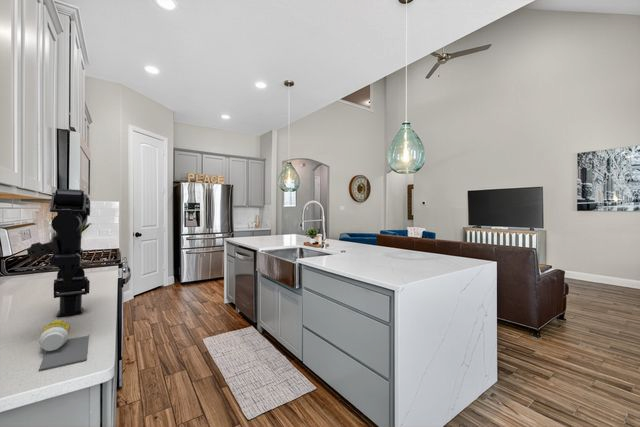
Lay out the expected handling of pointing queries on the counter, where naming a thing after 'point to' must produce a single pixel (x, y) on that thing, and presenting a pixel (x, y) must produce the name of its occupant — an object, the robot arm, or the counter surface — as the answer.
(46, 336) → the supplement bottle
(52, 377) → the counter surface
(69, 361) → the mat
